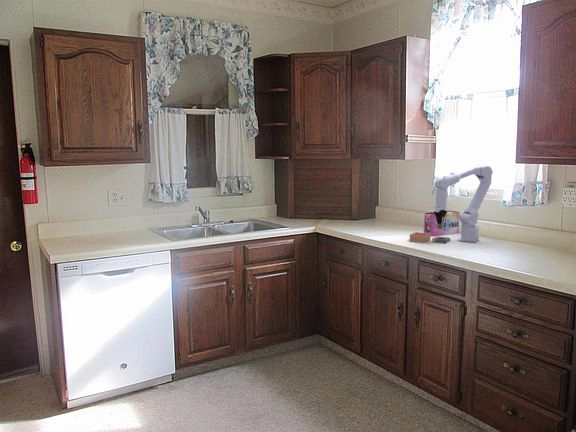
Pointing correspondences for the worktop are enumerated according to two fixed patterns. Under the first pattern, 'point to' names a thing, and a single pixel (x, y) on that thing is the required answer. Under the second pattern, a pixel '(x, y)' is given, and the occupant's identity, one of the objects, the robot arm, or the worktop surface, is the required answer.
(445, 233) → the gum box
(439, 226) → the battery cell
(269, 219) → the worktop surface
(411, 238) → the cup
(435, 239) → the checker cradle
